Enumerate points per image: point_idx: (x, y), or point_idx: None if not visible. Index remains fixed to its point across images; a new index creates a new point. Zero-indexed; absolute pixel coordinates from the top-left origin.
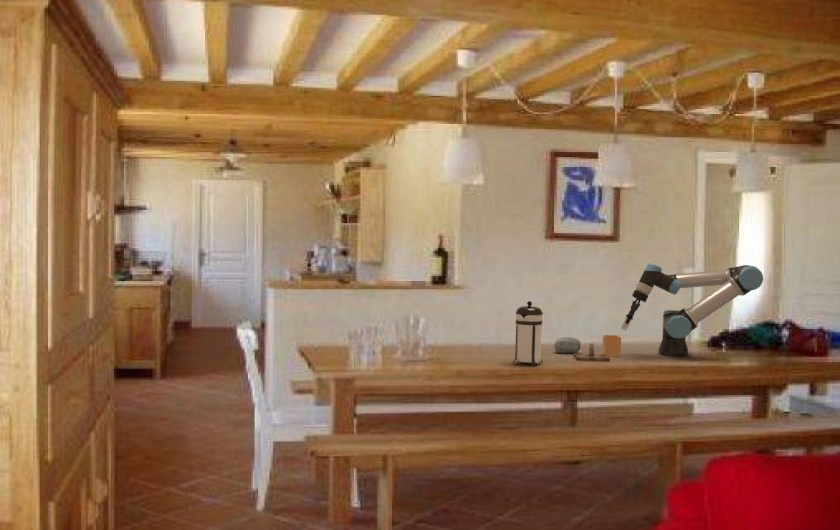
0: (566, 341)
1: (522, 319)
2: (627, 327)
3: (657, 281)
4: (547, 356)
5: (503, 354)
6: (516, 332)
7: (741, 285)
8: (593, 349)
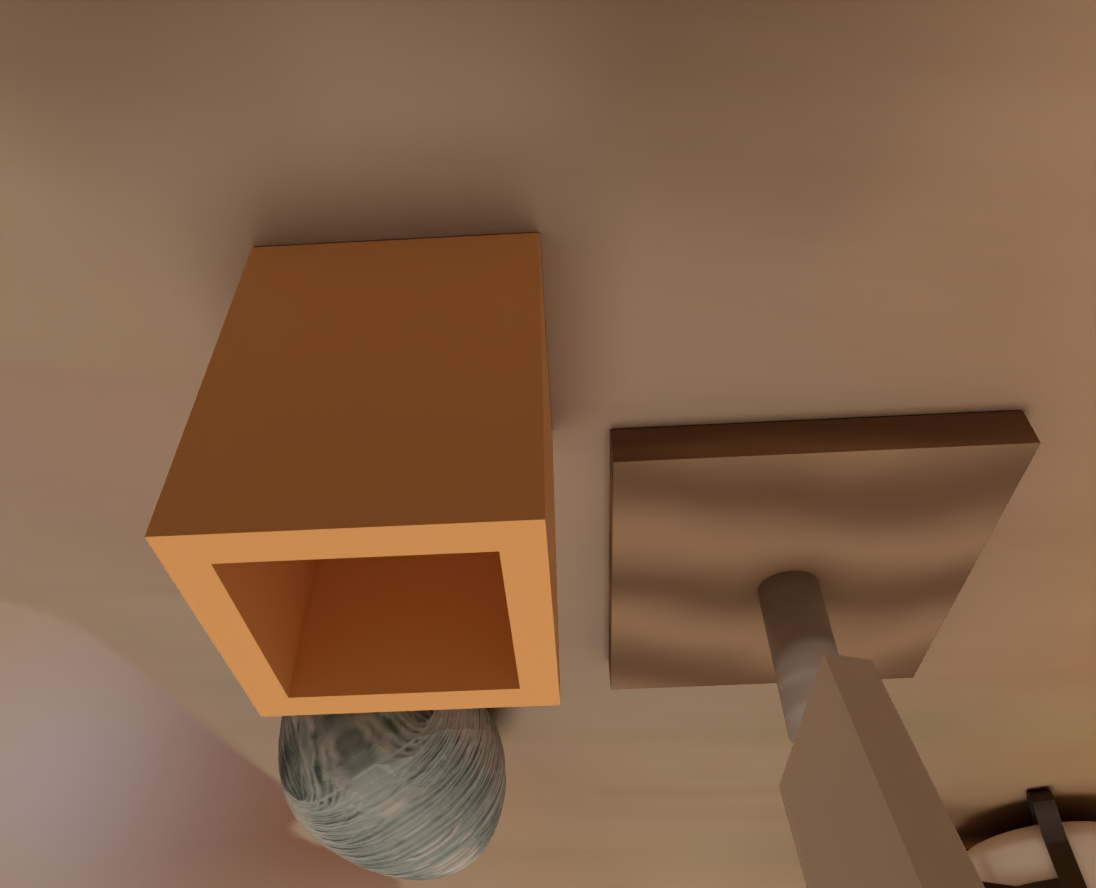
0: (475, 828)
1: None
2: (913, 751)
3: None
4: (664, 769)
5: (622, 884)
6: None
7: None
8: (835, 652)
